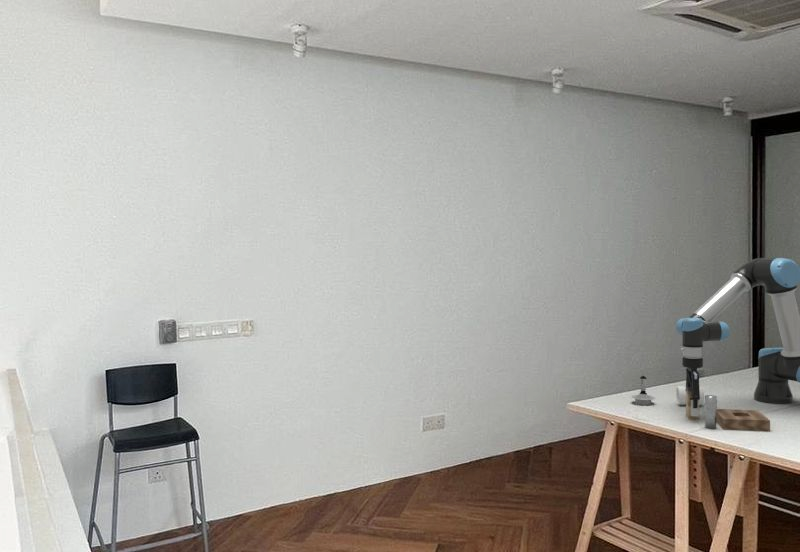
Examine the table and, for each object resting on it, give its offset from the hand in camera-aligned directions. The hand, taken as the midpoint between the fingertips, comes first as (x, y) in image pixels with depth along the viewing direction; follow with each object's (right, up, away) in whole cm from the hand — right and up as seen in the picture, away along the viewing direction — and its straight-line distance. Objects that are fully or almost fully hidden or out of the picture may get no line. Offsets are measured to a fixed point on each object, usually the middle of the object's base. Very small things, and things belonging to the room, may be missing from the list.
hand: (692, 413), depth 278 cm
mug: (+9, -1, +25) cm, 26 cm away
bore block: (+14, -2, -11) cm, 18 cm away
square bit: (0, -2, 0) cm, 2 cm away
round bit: (+1, -3, -14) cm, 15 cm away
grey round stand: (-10, -1, +27) cm, 29 cm away
